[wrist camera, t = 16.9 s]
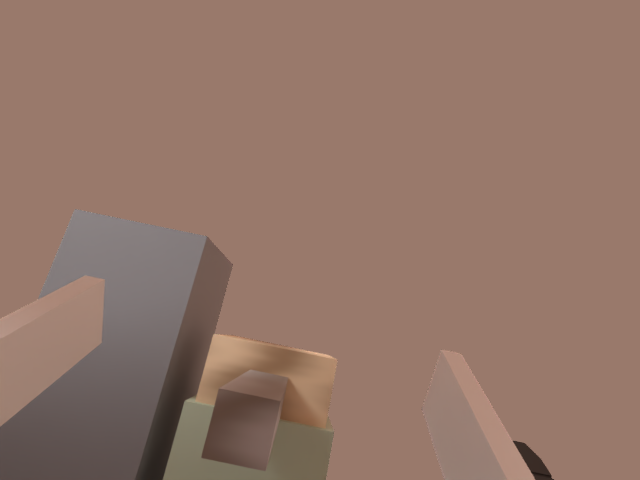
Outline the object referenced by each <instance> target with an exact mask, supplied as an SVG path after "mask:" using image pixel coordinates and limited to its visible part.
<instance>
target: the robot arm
mask: <svg viewBox="0 0 640 480" xmlns="http://www.w3.org/2000/svg"><path fill="white" fill-rule="evenodd" d="M104 287H105V279H100V278H95V277H90V276H86V275H85V276H83V277H81V278H79V279H77V280H75V281H73V282H71V283H69V284H67V285H65V286H63V287H62V288H60V289H58V290H56V291H54V292H52V293H50V294H48V295H46V296H44V297H42V298H40V299H38V300H36V301H34V302H32V303H30V304H28V305H26V306H24V307H22V308H20V309H18V310H17V311H14V312H13V313H11V314H9V315H7V316H5V317H3V318H1V319H0V427H1V426H2V425H3V424H4V423H5V422H7V421H8V420H9V419H10V418H11V417H13V416H14V415H15V414H16V413H17V412H19V411H20V410H21V409H22V408H23V407H25V406H26V405H27V404H28V403H30V402H31V401H32V400H33V399H34V398H36V397H37V396H38V395H39V394H40V393H42V392H43V391H44V390H45V389H46V388H48V387H49V386H50V385H51V384H52V383H54V382H55V381H56V380H57V379H58V378H60V377H61V376H62V375H63V374H64V373H66V372H67V371H68V370H69V369H71V368H72V367H73V366H74V365H75V364H77V363H78V362H79V361H80V360H81V359H83V358H84V357H85V356H86V355H87V354H89V353H90V352H91V351H92V350H93V349H95V348H96V347H97V346H98V345H99V344H101V343H102V326H103V306H104ZM422 411H423V414H424V417H425V420H426V424H427V426H428V430H429V433H430V436H431V439H432V443H433V446H434V449H435V452H436V455H437V458H438V461H439V464H440V468H441V471H442V474H443V477H444V480H554V479H552V478H551V474H550V473H549V471H548V469H547V468H546V466H545V465H544V463H543V462H542V460H541V459H540V458H539V457H538V456H537V455H536V454H535V453H534V452H533V451H532V450H531V449H530V448H529V447H528V446H527V445H526V444H525V443H522V442H517V441H512V439H511V438H510V436H509V434H508V433H507V431H506V429H505V427H504V426H503V424H502V422H501V421H500V419H499V417H498V416H497V414H496V412H495V410H494V409H493V407H492V405H491V404H490V402H489V400H488V399H487V397H486V395H485V393H484V392H483V390H482V388H481V387H480V385H479V383H478V382H477V380H476V378H475V377H474V375H473V373H472V372H471V370H470V368H469V367H468V365H467V363H466V361H465V360H464V358H463V356H462V355H461V353H457V352H452V351H447V350H441V352H440V355H439V358H438V361H437V364H436V367H435V370H434V373H433V376H432V379H431V383H430V385H429V388H428V392H427V395H426V398H425V401H424V404H423V407H422Z"/></svg>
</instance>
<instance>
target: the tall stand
mask: <svg viewBox="0 0 640 480" xmlns="http://www.w3.org/2000/svg"><path fill="white" fill-rule="evenodd" d="M232 266H233V264H232V263H231V262H230V261H229V260H228V259H227V258H226V257H225V256H224V254H223V253H222V252H221V251H220V250H219V249H218V248H217V247H216V246H215V245H214V243H213V242H212V241H211V240H210V239H209V238H208V237H207V236H202V235H198V234H193V233H188V232H183V231H178V230H173V229H169V228H164V227H159V226H154V225H149V224H144V223H139V222H134V221H130V220H125V219H120V218H115V217H110V216H105V215H100V214H95V213H91V212H86V211H81V210H77V209H75V210H74V213H73V215H72V217H71V220H70V222H69V225H68V227H67V230H66V232H65V235H64V237H63V240H62V242H61V245H60V247H59V249H58V252H57V254H56V257H55V259H54V261H53V264H52V266H51V269H50V271H49V274H48V276H47V279H46V281H45V284H44V286H43V288H42V291H41V293H40V296H39V298H38V299H40V298H42V297H44V296H46V295H48V294H50V293H52V292H54V291H56V290H58V289H60V288H62V287H63V286H65V285H67V284H69V283H71V282H73V281H75V280H77V279H79V278H81V277H83V276H85V275H86V276H90V277H95V278H100V279H105V287H104V306H103V326H102V343H101V344H99V345H98V346H97V347H96V348H95V349H93V350H92V351H91V352H90V353H89V354H87V355H86V356H85V357H84V358H83V359H81V360H80V361H79V362H78V363H77V364H75V365H74V366H73V367H72V368H71V369H69V370H68V371H67V372H66V373H64V374H63V375H62V376H61V377H60V378H58V379H57V380H56V381H55V382H54V383H52V384H51V385H50V386H49V387H48V388H46V389H45V390H44V391H43V392H42V393H40V394H39V395H38V396H37V397H36V398H34V399H33V400H32V401H31V402H30V403H28V404H27V405H26V406H25V407H23V408H22V409H21V410H20V411H19V412H17V413H16V414H15V415H14V416H13V417H11V418H10V419H9V420H8V421H7V422H5V423H4V424H3V425H2V426H1V427H0V480H163V477H164V474H165V470H166V466H167V463H168V459H169V456H170V452H171V449H172V445H173V441H174V438H175V434H176V431H177V427H178V423H179V420H180V416H181V413H182V409H183V405H184V402H185V400H187V399H189V398H191V397H193V396H195V395H197V393H198V389H199V385H200V382H201V378H202V374H203V371H204V367H205V363H206V359H207V356H208V352H209V348H210V345H211V341H212V337H213V334H214V333H215V329H216V325H217V322H218V318H219V314H220V311H221V307H222V303H223V299H224V296H225V292H226V288H227V284H228V281H229V277H230V274H231V270H232Z"/></svg>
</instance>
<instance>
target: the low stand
mask: <svg viewBox="0 0 640 480" xmlns="http://www.w3.org/2000/svg"><path fill="white" fill-rule="evenodd" d="M196 396H197V395H195V396H193V397H191V398H189V399H187V400H185V402H184V405H183V409H182V413H181V416H180V420H179V423H178V427H177V431H176V434H175V438H174V441H173V445H172V449H171V452H170V456H169V459H168V463H167V466H166V470H165V474H164V477H163V480H326V476H327V470H328V464H329V458H330V452H331V447H332V440H333V435H334V431H333V428H332V425H331V422H330V420H329V417H327V422H326V428H320V427H315V426H310V425H306V424H301V423H296V422H291V421H286V420H282V419H280V420H279V424H278V428H277V431H276V435H275V439H274V442H273V446H272V450H271V454H270V457H269V461H268V465H267V469H266V471H261V470H256V469H251V468H247V467H242V466H237V465H232V464H228V463H223V462H218V461H213V460H208V459H204V458H201V456H202V452H203V448H204V444H205V440H206V436H207V432H208V429H209V425H210V421H211V417H212V413H213V409H214V405H210V404H205V403H200V402H195V400H196Z"/></svg>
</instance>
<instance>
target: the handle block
mask: <svg viewBox="0 0 640 480" xmlns="http://www.w3.org/2000/svg"><path fill="white" fill-rule="evenodd" d="M336 366H337V359H335V358H333V357H331V356H329V355H325V354H321V353H316V352H311V351H306V350H301V349H297V348H292V347H287V346H282V345H277V344H272V343H268V342H263V341H258V340H253V339H248V338H244V337H238V336H234V335H219V334H213V337H212V341H211V345H210V348H209V352H208V356H207V359H206V363H205V367H204V371H203V374H202V378H201V382H200V385H199V389H198V393H197V396H196V400H195V402H200V403H205V404H210V405H214V409H213V413H212V417H211V421H210V425H209V429H208V432H207V436H206V440H205V444H204V448H203V452H202V456H201V458H204V459H208V460H213V461H218V462H223V463H228V464H232V465H237V466H242V467H247V468H251V469H256V470H261V471H266V469H267V465H268V461H269V457H270V454H271V450H272V446H273V442H274V439H275V435H276V431H277V428H278V424H279V420H280V419H282V420H286V421H291V422H296V423H301V424H306V425H310V426H315V427H320V428H326V422H327V417H328V411H329V405H330V399H331V394H332V388H333V382H334V377H335V371H336Z"/></svg>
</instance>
